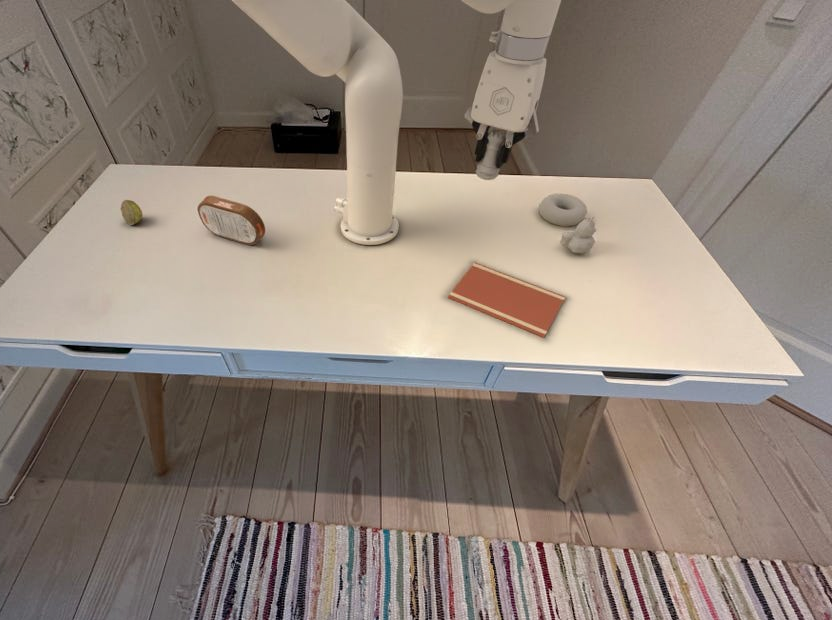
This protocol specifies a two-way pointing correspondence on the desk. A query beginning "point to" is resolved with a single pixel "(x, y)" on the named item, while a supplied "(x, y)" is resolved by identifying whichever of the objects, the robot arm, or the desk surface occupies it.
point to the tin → (231, 220)
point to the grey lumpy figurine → (580, 237)
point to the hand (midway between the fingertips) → (490, 161)
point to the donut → (563, 209)
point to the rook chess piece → (491, 156)
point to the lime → (131, 212)
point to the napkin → (508, 299)
